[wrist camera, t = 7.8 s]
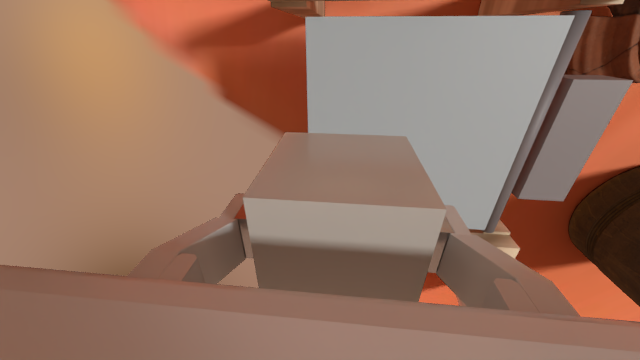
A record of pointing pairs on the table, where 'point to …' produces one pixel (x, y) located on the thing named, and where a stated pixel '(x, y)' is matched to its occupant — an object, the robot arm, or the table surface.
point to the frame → (494, 3)
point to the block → (343, 216)
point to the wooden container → (612, 230)
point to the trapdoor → (465, 100)
